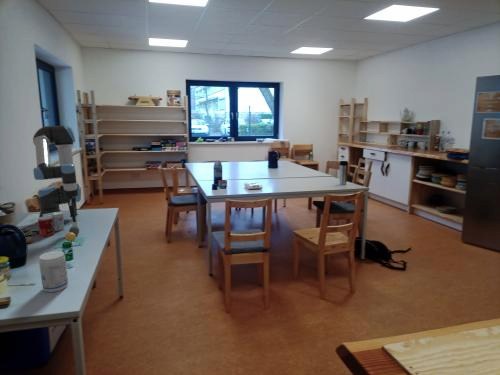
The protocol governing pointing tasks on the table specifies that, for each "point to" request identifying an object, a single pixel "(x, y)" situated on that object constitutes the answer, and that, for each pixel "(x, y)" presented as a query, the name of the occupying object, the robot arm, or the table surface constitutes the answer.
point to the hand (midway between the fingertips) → (75, 226)
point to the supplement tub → (53, 271)
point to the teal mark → (77, 241)
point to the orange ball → (70, 236)
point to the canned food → (46, 226)
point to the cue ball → (74, 230)
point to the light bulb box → (57, 220)
